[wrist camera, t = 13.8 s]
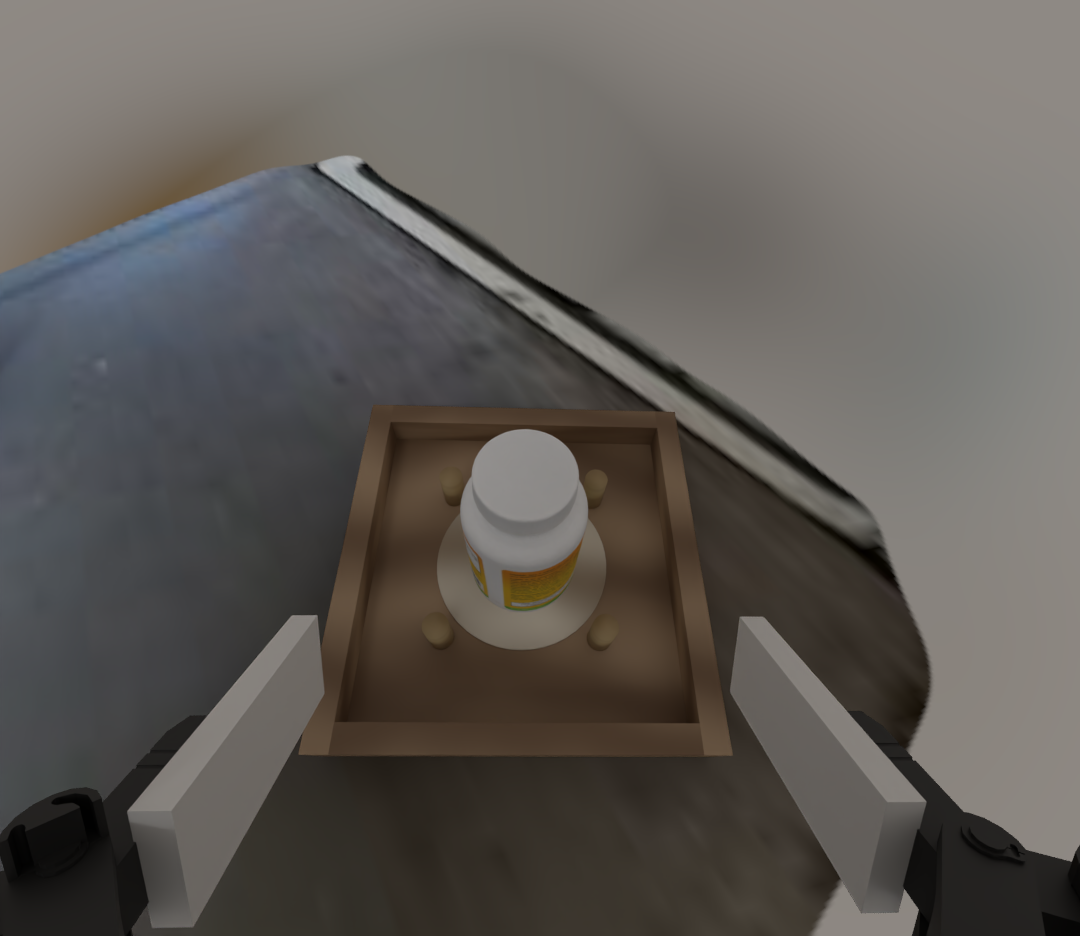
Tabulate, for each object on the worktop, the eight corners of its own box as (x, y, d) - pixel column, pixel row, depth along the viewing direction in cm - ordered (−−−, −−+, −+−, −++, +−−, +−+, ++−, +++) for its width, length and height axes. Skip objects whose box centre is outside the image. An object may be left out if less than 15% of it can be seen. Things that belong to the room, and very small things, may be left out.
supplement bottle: (590, 546, 28) (623, 450, 19) (542, 635, 25) (555, 568, 17) (506, 501, 29) (502, 392, 20) (452, 581, 26) (421, 494, 18)
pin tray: (709, 756, 24) (737, 755, 21) (322, 756, 23) (292, 754, 20) (662, 439, 33) (677, 405, 30) (384, 433, 32) (370, 398, 29)
